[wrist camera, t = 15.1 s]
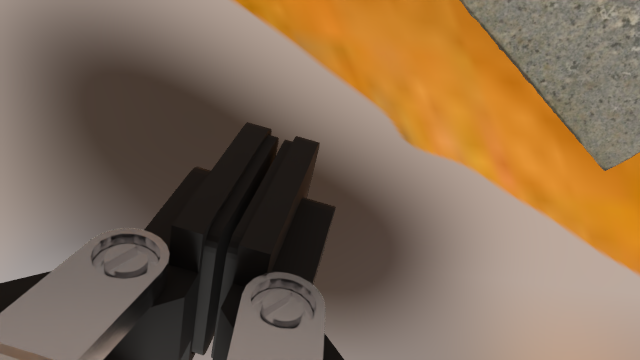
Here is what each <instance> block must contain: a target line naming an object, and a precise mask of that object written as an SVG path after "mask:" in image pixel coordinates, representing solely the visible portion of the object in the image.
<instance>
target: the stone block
mask: <svg viewBox="0 0 640 360" xmlns="http://www.w3.org/2000/svg"><path fill="white" fill-rule="evenodd" d="M460 1H461V2H462V4H463V5H464V6H465V8H466V9H467V10H468V12H469V13H470V15H471V16H472V17H473V18H475V19H476V20H477V21H478V22H479V23H480V25H481V26H482V27H483V28H484V29H485V30H486V31H487V33H488V34H489V35H490V37H491V38H492V39H493V40H494V42H495V43H496V44H497V45H498V47H499V49H500V50H502V51H504V52H505V54H506V55H507V57H508V58H509V59H510V60H511V61H512V63H513V64H514V65H515V66H516V67H517V68H518V69H519V71H520V72H521V73H522V75H523V76H524V78H525V79H526V80H527V81H528V82H529V83H531V84H532V85H533V87H534V88H535V89H536V91H537V92H538V94H539V95H540V96H541V97H542V98H543V99H544V101H545V102H546V103H547V104H548V105H549V107H550V108H551V109H552V110H553V112H554V113H556V114H557V116H558V117H559V118H560V120H561V121H562V122H563V123H564V124H565V125H566V127H567V128H568V129H569V130H570V131H571V132H572V133H573V134H574V135H575V137H576V139H577V140H578V141H579V142H580V143H581V144H582V145H583V146H584V148H585V149H586V150H587V152H589V153H590V155H591V156H592V157H593V158H594V159H595V161H596V162H597V163H598V164H599V165H600V167H601V168H602V169H603V170H604V171H606V170H608V169H610V168H612V167H614V166H616V165H618V164H620V163H622V162H624V161H625V160H627V159H629V158H631V157H632V156H634V155H635V154H637V153H639V152H640V0H460Z"/></svg>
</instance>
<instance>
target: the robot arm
mask: <svg viewBox="0 0 640 360" xmlns="http://www.w3.org/2000/svg"><path fill="white" fill-rule="evenodd" d="M277 147H278V137H274V136H271V129H269V128H265V127H262V126H259V125H255V124H252V123H248V122H247V123H246V124H245V125H244V127H243V128H242V129H241V131H240V132H239V133H238V135H237V136H236V138H235V139H234V140H233V142H232V143H231V145H230V146H229V147H228V148H227V150H226V151H225V153H224V154H223V155H222V157H221V158H220V160H219V161H218V162H217V164H216V165H215V166H214V168H213V169H212V170H211V171H210V170H207V169H203V168H200V167H195V168H194V169H193V170H192V171H191V172H190V173H189V174H188V175H187V177H186V178H185V179H184V181H183V182H182V183H181V184H180V186H179V187H178V188H177V189H176V191H175V192H174V193H173V194H172V196H171V197H170V198H169V199H168V201H167V202H166V203H165V204H164V206H163V207H162V208H161V209H160V211H159V212H158V213H157V214H156V216H155V217H154V218H153V220H152V221H151V222H150V223H149V225H148V226H147V227H146V229H145V230H141V229H133V228H122V229H113V230H110V231H107V232H104V233H101V234H100V235H98V236H96V237H95V238H93V239H91V240H90V241H89V242H88V243H86V244H85V245H84V246H83V247H81V248H80V249H79V250H78V251H76V252H75V253H74V254H73V255H71V256H70V257H69V258H68V259H66V260H65V261H64V262H63V263H62V264H60V265H59V266H58V267H57V268H55V269H54V270H53V271H51V272H46V273H42V274H38V275H33V276H29V277H26V278H21V279H17V280H13V281H9V282H4V283H0V360H192V359H193V357H194V355H195V353H198V354H201V355H204V354H205V353H206V351H207V349H208V347H209V345H210V343H211V340H212V339H213V336H214V341H213V347H212V354H211V357H212V358H213V360H344V359H343V358H342V356H341V355H340V353H339V352H338V351H337V349H336V348H335V347H334V345H333V344H332V343H331V341H330V340H329V339H328V337H327V336H326V335H325V333H324V330H325V303H324V299H323V297H322V295H321V294H320V292H319V290H318V289H317V288H315V286H313V285H314V282H315V278H316V275H317V272H318V268H319V265H320V262H321V258H322V255H323V251H324V248H325V244H326V241H327V237H328V233H329V230H330V226H331V223H332V219H333V216H334V212H335V208H336V207H335V206H331V205H328V204H324V203H321V202H317V201H314V200H310V199H307V196H308V191H309V187H310V183H311V179H312V175H313V171H314V167H315V162H316V158H317V154H318V150H319V143H318V142H315V141H312V140H308V139H305V138H301V137H298V136H296V137H295V139H294V140H293V142H292V141H288V140H285V141H284V142H283V144H282V146H281V148H280V149H279V151H278V153H277V155H276V152H277Z"/></svg>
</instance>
